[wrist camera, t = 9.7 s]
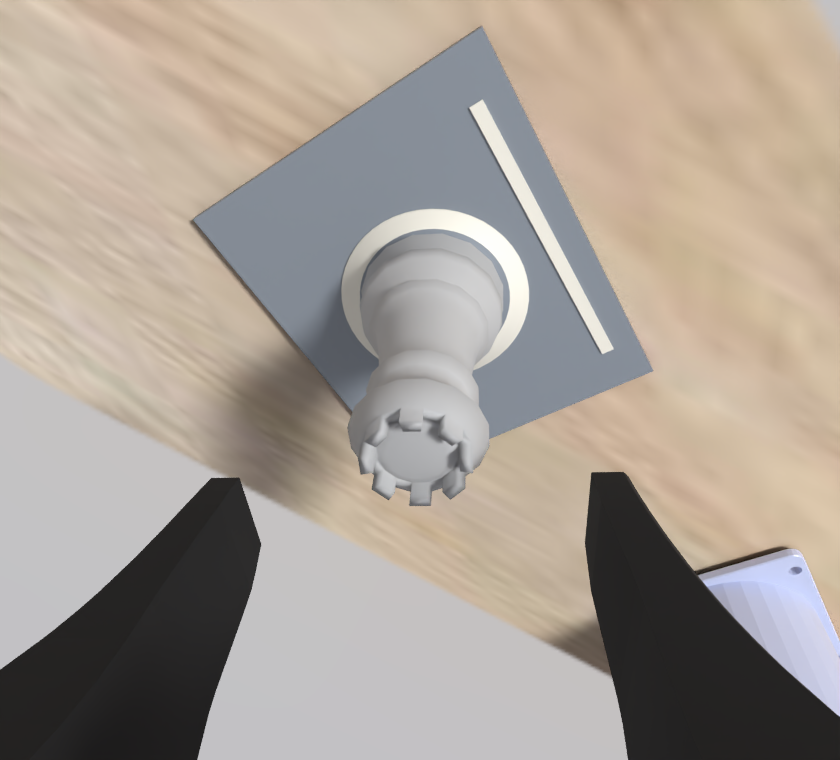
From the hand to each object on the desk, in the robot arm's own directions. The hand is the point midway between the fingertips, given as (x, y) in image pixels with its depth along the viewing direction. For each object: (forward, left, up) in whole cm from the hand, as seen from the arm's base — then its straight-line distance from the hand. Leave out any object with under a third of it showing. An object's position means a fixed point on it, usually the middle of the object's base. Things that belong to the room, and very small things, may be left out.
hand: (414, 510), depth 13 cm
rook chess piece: (0, 0, -9) cm, 9 cm away
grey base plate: (0, 0, -9) cm, 9 cm away
